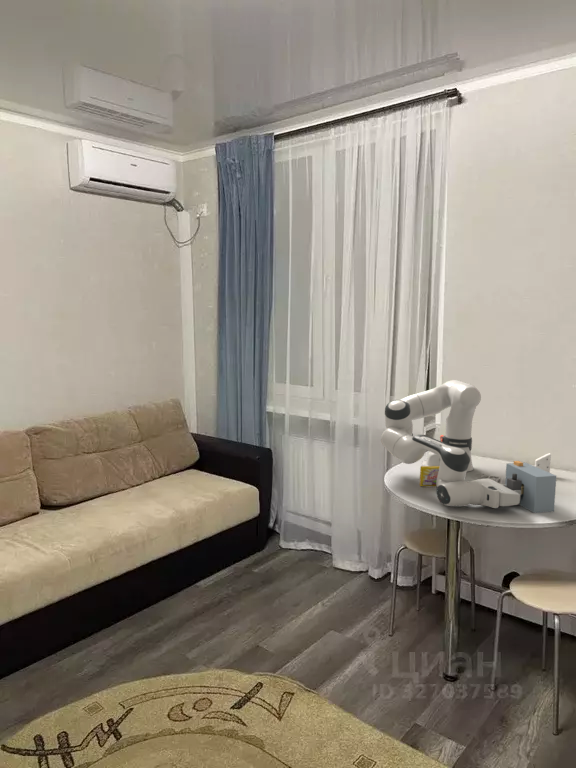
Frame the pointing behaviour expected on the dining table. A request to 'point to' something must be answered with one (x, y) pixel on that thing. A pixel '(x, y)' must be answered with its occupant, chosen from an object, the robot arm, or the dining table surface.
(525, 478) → the socket
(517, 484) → the plug
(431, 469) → the candy box
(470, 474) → the dining table surface
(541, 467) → the white wedge bracket
